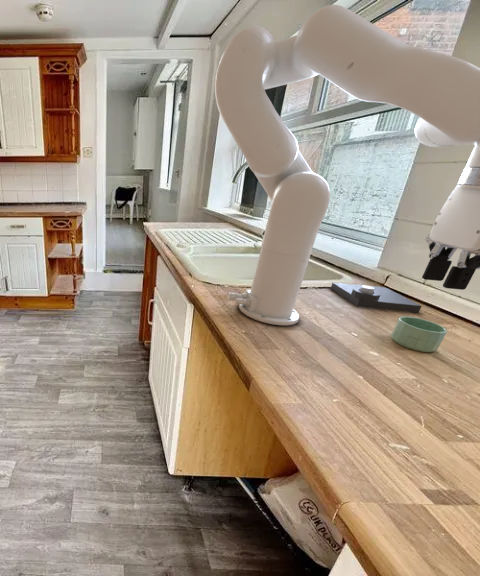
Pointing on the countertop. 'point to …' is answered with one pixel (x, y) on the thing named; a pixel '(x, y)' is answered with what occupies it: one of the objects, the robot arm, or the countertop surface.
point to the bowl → (418, 334)
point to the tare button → (367, 289)
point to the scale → (375, 298)
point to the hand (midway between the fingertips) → (442, 283)
